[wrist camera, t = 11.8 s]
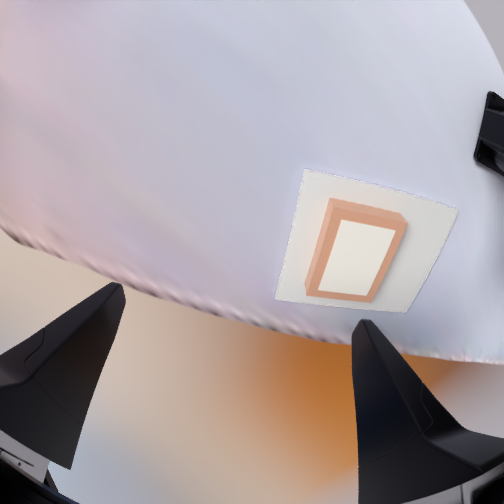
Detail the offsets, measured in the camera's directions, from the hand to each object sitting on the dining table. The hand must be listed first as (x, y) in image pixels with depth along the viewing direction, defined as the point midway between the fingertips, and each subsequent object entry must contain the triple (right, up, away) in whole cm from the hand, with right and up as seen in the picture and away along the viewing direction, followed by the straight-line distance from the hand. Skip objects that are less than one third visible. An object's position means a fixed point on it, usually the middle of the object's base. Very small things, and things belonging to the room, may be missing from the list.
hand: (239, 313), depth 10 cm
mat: (+10, +2, +12) cm, 16 cm away
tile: (+11, +1, +11) cm, 16 cm away
